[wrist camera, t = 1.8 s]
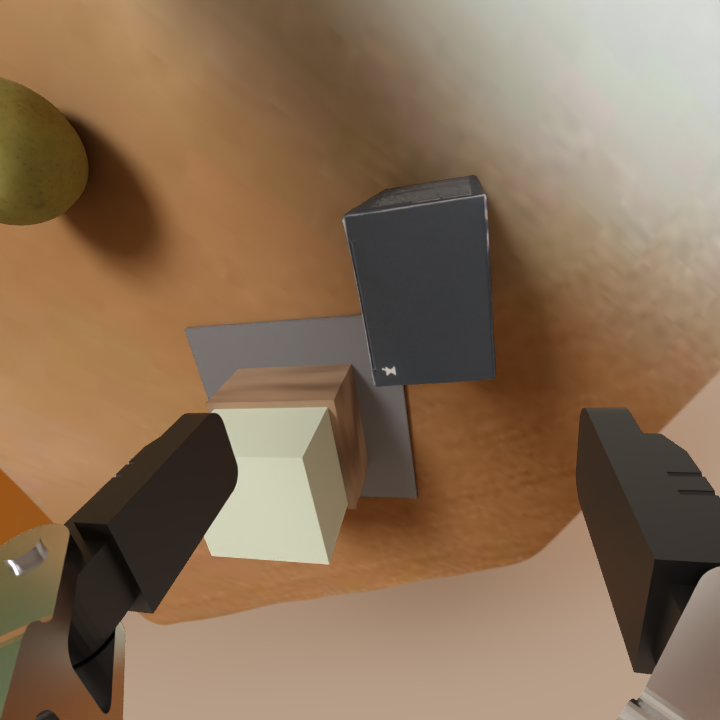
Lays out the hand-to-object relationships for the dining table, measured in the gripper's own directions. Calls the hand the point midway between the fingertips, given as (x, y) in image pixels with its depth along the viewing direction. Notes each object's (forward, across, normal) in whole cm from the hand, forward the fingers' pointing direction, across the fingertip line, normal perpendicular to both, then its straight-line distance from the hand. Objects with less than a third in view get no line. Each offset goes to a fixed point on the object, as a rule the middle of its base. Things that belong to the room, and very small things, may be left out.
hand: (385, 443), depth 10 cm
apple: (+20, +24, -9) cm, 33 cm away
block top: (+14, +11, +12) cm, 22 cm away
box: (+20, 0, 0) cm, 20 cm away
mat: (+20, +11, +12) cm, 26 cm away
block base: (+20, +11, +12) cm, 25 cm away
